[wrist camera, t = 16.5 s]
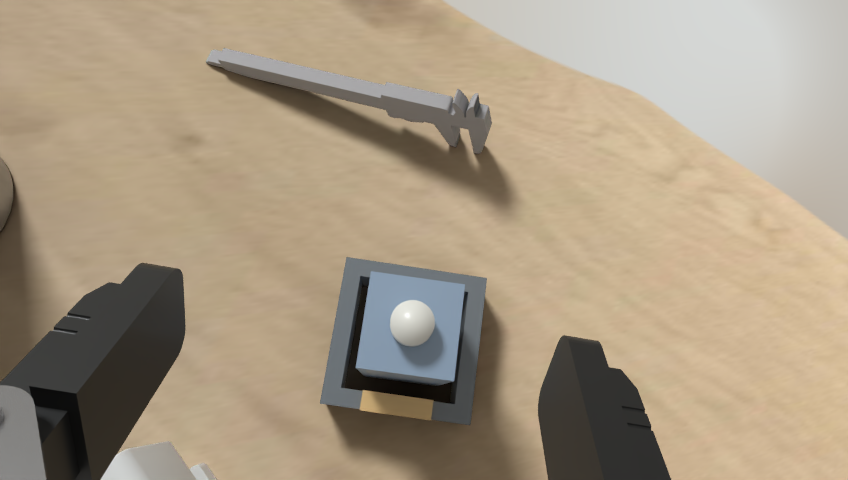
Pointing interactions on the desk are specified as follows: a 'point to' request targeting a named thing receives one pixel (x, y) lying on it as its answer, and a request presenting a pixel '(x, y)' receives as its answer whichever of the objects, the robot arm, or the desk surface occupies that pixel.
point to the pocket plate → (396, 404)
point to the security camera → (154, 465)
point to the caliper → (370, 95)
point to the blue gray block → (410, 329)
